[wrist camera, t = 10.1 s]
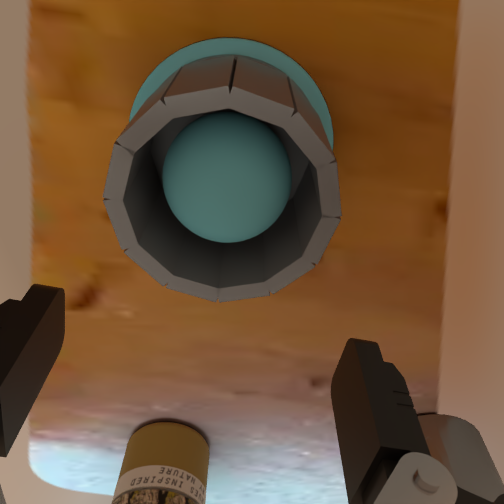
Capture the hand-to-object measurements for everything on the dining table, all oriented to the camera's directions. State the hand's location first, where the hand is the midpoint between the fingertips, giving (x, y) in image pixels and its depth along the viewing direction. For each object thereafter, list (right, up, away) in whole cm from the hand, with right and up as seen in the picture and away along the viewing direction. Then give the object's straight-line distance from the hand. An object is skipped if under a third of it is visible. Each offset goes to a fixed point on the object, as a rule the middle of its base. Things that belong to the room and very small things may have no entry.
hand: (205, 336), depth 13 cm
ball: (0, +6, +9) cm, 11 cm away
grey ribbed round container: (0, +8, +13) cm, 15 cm away
